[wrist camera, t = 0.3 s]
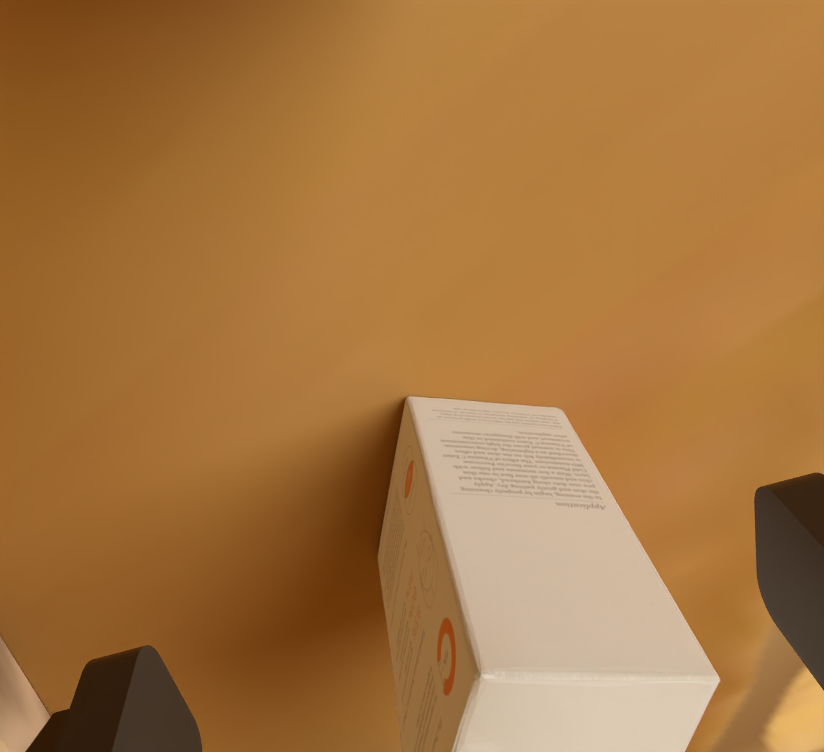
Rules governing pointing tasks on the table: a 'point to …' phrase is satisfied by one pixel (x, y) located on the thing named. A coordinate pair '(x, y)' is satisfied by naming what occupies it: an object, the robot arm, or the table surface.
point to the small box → (525, 595)
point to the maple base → (17, 706)
